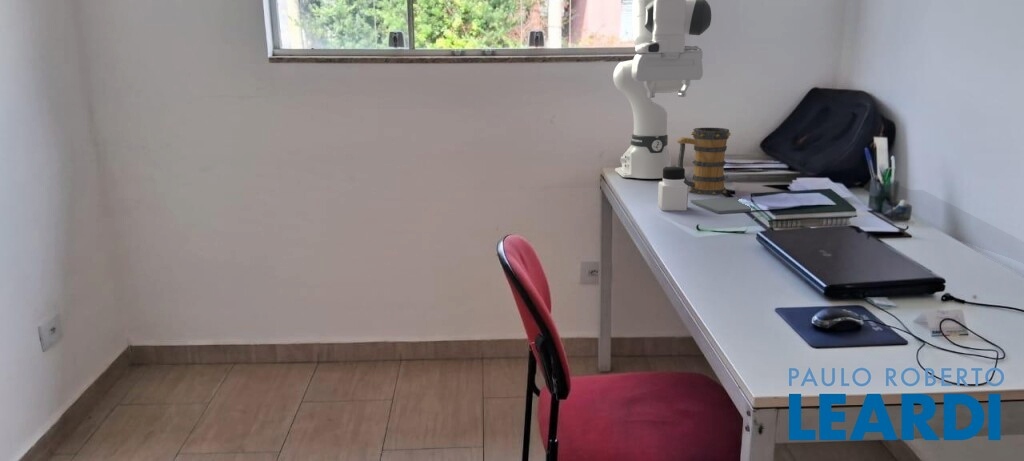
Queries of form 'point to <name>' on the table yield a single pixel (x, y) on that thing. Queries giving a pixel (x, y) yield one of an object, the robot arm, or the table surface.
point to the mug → (706, 159)
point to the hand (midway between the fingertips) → (666, 97)
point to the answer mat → (722, 205)
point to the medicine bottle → (673, 190)
